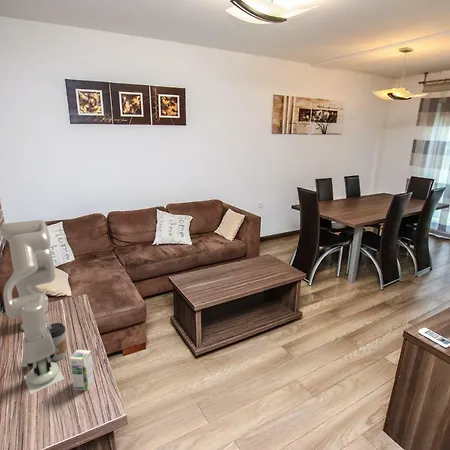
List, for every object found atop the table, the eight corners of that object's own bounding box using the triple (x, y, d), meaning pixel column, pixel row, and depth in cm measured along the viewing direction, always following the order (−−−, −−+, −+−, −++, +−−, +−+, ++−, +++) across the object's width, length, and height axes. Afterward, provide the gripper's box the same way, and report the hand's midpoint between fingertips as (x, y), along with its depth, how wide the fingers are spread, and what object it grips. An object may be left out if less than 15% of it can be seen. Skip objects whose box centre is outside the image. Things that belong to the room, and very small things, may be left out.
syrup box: (73, 390, 118) (68, 358, 114) (81, 378, 124) (77, 348, 120) (87, 391, 118) (83, 360, 114) (94, 379, 124) (91, 349, 120)
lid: (24, 372, 124) (22, 360, 122) (54, 360, 131) (52, 348, 129) (30, 389, 116) (28, 376, 114) (62, 374, 123) (60, 362, 122)
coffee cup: (60, 364, 131) (55, 335, 127) (43, 361, 133) (38, 332, 129) (73, 352, 139) (69, 323, 135) (57, 349, 140) (52, 321, 136)
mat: (23, 377, 124) (23, 376, 124) (56, 363, 132) (56, 362, 132) (30, 395, 115) (30, 394, 115) (64, 379, 123) (64, 378, 123)
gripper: (56, 320, 126) (62, 357, 131) (9, 337, 115) (17, 376, 120) (62, 329, 121) (67, 367, 126) (13, 347, 110) (21, 387, 115)
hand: (42, 371), depth 123 cm, fingers closed on lid, 3 cm apart
